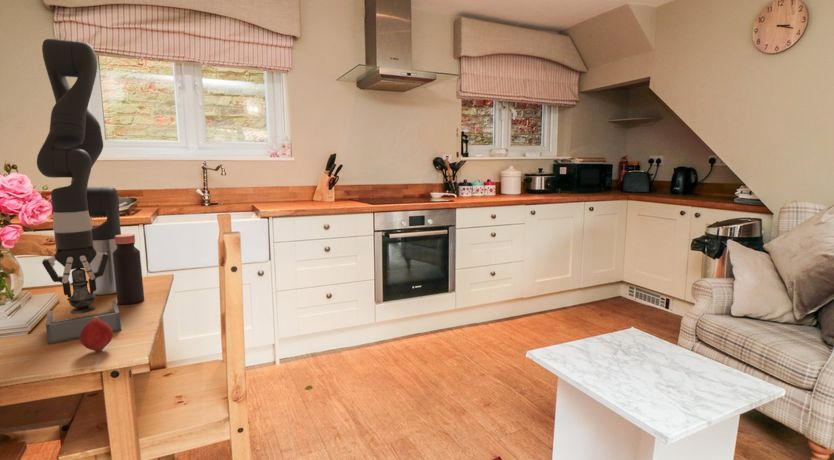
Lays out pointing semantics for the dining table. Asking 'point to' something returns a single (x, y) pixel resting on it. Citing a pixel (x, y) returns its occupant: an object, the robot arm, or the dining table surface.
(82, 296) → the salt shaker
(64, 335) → the box
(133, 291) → the bottle
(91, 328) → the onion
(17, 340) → the dining table surface
